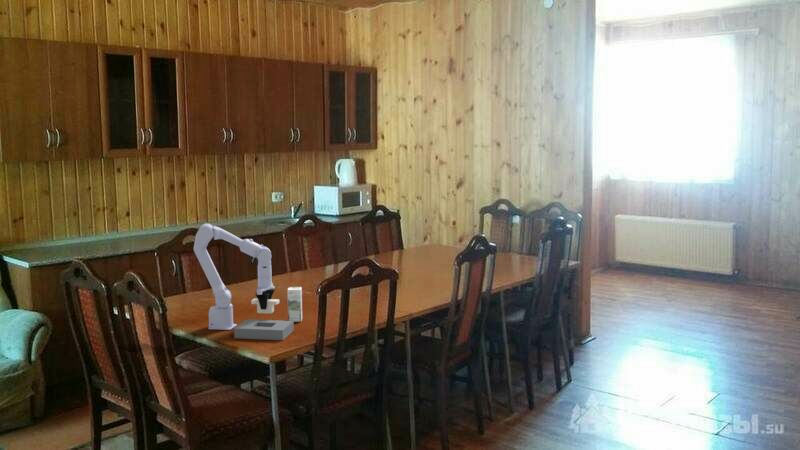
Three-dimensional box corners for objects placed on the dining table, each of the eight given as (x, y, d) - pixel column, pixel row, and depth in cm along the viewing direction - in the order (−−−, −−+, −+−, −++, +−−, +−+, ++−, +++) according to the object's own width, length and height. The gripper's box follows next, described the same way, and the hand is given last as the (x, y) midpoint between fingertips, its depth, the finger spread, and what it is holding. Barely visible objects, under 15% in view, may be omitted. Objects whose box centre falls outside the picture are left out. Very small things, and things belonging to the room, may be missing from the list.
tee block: (251, 312, 304) (251, 300, 304) (254, 310, 308) (254, 298, 308) (276, 313, 303) (276, 301, 302) (279, 311, 307) (279, 299, 306)
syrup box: (302, 318, 317) (301, 286, 315) (301, 322, 311) (300, 289, 309) (289, 319, 316) (288, 286, 314) (287, 322, 311) (287, 289, 309)
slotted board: (234, 338, 288) (234, 328, 287) (247, 328, 301) (247, 319, 301) (283, 340, 285) (282, 330, 284) (293, 330, 298) (293, 321, 298)
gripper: (268, 280, 296) (268, 312, 298) (279, 273, 310) (280, 304, 312) (251, 279, 297) (252, 311, 299) (263, 272, 311) (264, 303, 313)
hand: (265, 307), depth 305 cm, fingers closed on tee block, 4 cm apart
